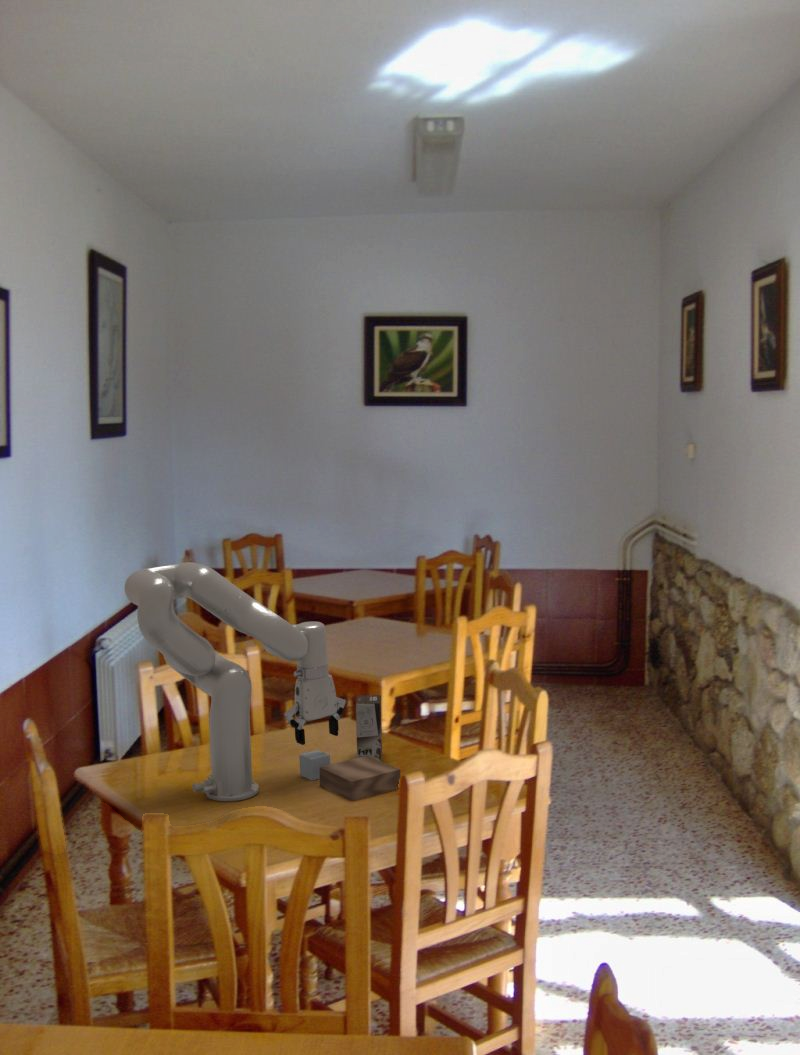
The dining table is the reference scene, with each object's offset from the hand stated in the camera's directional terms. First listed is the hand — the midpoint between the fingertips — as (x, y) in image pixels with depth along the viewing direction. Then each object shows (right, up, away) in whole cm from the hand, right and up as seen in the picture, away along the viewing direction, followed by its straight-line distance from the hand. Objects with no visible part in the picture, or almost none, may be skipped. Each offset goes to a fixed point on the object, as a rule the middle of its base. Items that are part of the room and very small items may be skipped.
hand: (317, 739), depth 265 cm
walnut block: (+11, -10, -8) cm, 17 cm away
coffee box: (+13, -8, +13) cm, 20 cm away
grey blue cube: (-1, -9, 0) cm, 9 cm away
